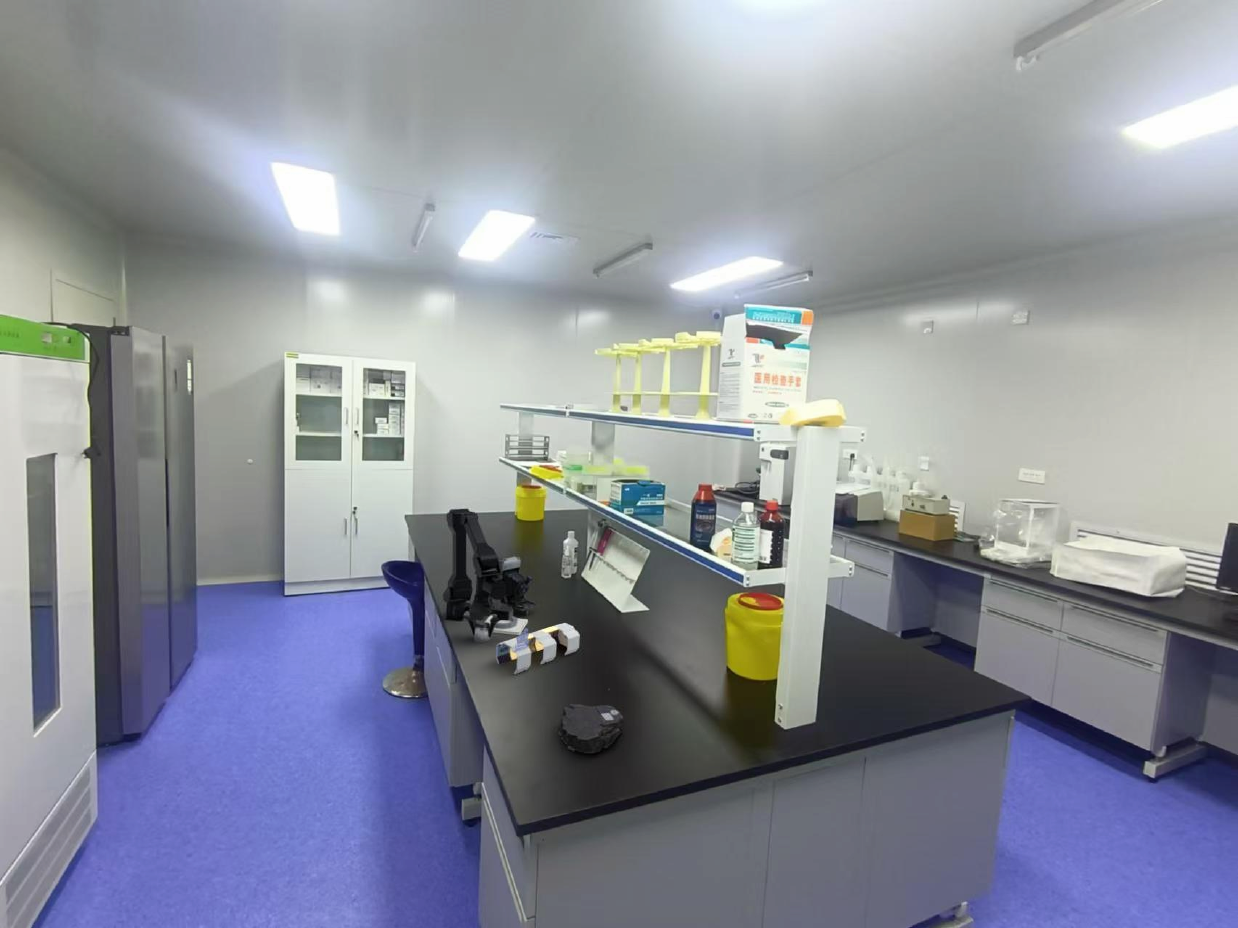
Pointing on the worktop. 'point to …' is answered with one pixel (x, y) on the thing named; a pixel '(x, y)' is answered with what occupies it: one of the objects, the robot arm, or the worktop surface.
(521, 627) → the barrel plate
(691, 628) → the worktop surface
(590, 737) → the rock sample
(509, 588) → the vintage camera
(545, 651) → the diorama
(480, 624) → the metal cylinder
